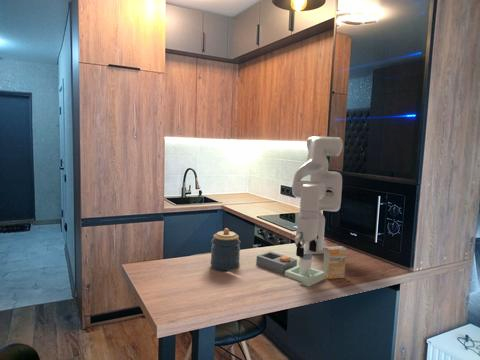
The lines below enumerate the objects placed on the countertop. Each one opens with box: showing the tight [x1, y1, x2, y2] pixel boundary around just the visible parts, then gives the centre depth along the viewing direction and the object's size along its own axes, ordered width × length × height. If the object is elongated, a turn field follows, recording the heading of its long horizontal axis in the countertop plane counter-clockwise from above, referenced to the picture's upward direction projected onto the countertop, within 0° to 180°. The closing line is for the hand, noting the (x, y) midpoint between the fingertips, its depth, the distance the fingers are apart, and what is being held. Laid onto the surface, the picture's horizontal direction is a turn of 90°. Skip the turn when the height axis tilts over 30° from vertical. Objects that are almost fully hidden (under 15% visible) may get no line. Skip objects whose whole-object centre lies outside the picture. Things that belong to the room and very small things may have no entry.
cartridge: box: [298, 251, 313, 277], centre depth 151 cm, size 5×5×10 cm
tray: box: [284, 264, 325, 287], centre depth 152 cm, size 12×12×3 cm
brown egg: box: [280, 255, 291, 262], centre depth 158 cm, size 4×4×5 cm
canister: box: [210, 227, 241, 272], centre depth 160 cm, size 13×13×18 cm
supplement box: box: [322, 245, 348, 280], centre depth 154 cm, size 8×5×13 cm, turn 105°
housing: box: [255, 251, 298, 275], centre depth 161 cm, size 10×15×5 cm, turn 47°
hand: (306, 253), depth 151 cm, fingers open, 9 cm apart
